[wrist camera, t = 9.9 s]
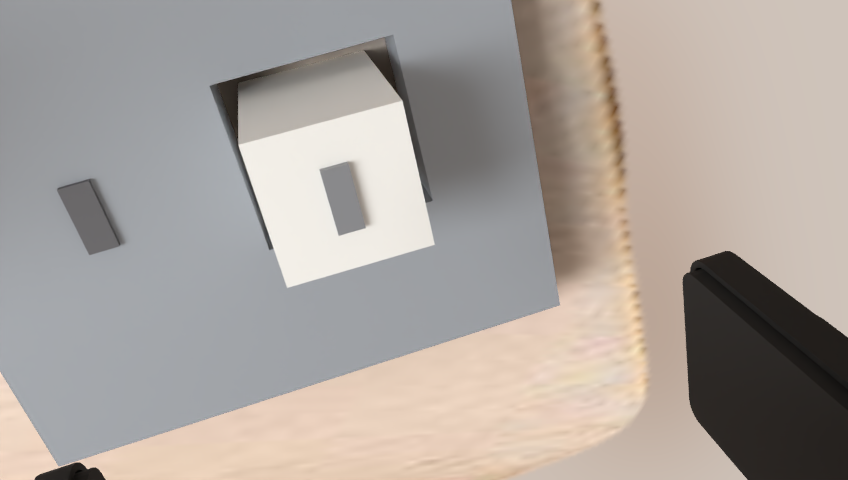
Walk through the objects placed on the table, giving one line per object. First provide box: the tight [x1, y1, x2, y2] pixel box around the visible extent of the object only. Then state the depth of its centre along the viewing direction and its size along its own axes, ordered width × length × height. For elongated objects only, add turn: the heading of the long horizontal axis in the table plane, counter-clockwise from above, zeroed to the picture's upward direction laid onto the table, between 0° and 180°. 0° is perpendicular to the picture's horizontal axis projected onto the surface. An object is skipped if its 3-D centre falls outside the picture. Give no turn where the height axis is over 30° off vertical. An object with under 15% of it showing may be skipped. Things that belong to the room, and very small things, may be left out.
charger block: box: [238, 50, 435, 288], centre depth 24 cm, size 4×4×7 cm
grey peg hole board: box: [0, 0, 560, 466], centre depth 25 cm, size 18×20×3 cm
